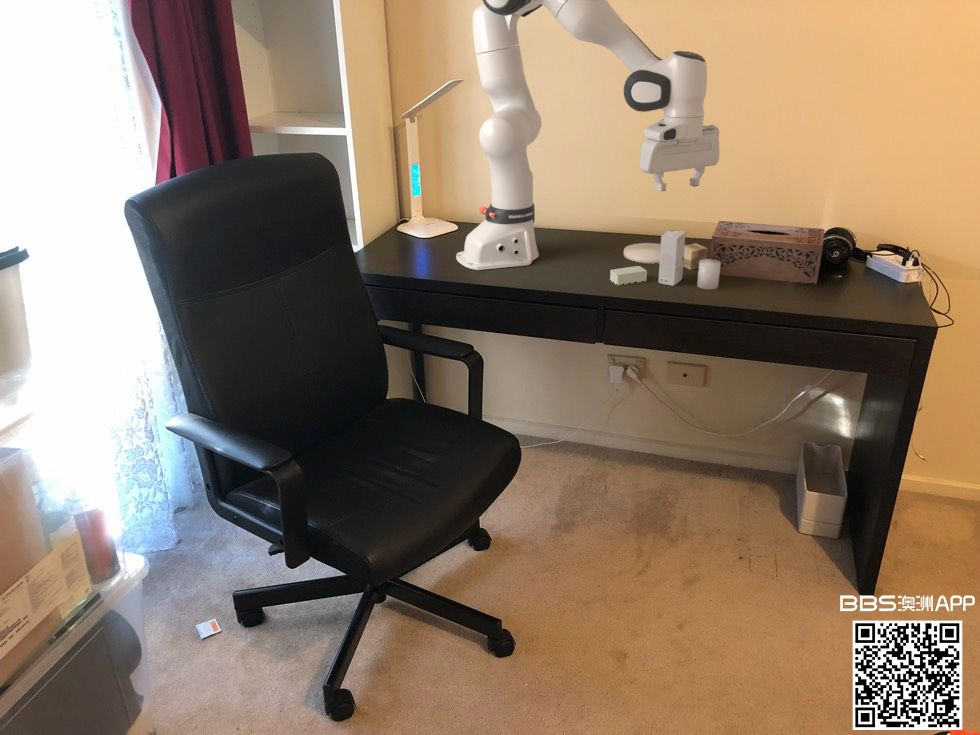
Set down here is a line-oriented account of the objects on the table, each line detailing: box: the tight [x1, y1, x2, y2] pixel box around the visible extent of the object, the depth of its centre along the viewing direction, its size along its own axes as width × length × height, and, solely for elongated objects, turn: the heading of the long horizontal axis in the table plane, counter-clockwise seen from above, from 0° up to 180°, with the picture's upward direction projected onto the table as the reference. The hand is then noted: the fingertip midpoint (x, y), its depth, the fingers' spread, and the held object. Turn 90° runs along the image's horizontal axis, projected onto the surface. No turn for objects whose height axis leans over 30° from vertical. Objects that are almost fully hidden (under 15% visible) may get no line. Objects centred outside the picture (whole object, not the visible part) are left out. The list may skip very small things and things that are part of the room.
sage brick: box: [609, 265, 648, 286], centre depth 199 cm, size 8×4×3 cm, turn 109°
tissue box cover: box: [709, 220, 825, 285], centre depth 203 cm, size 26×14×10 cm, turn 68°
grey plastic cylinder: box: [696, 258, 721, 291], centre depth 194 cm, size 5×5×6 cm
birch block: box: [683, 242, 709, 270], centre depth 208 cm, size 5×5×5 cm
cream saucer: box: [623, 242, 661, 265], centre depth 217 cm, size 14×14×1 cm
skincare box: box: [658, 229, 686, 287], centre depth 196 cm, size 6×4×12 cm
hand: (677, 188), depth 189 cm, fingers open, 8 cm apart
